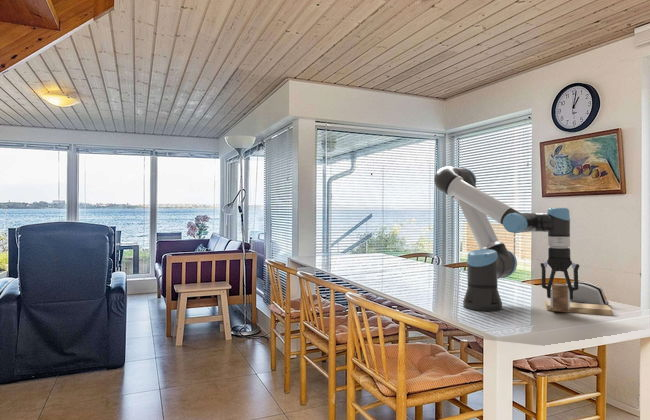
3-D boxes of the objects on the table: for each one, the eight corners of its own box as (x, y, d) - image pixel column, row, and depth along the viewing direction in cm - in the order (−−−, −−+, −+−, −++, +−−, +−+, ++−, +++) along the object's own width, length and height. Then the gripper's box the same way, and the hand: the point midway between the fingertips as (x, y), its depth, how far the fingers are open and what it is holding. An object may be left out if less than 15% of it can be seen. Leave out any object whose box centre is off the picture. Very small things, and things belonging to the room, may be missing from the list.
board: (547, 310, 170) (547, 305, 170) (545, 305, 179) (545, 300, 179) (612, 315, 162) (612, 310, 162) (607, 310, 170) (607, 305, 170)
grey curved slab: (610, 304, 180) (605, 283, 178) (603, 309, 178) (598, 287, 176) (571, 297, 195) (566, 277, 193) (565, 302, 193) (560, 281, 191)
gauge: (553, 310, 166) (552, 285, 166) (549, 303, 179) (549, 279, 179) (567, 312, 164) (567, 285, 164) (563, 304, 177) (562, 280, 177)
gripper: (533, 247, 167) (534, 307, 166) (587, 248, 160) (588, 311, 159) (532, 246, 174) (533, 303, 173) (584, 247, 166) (585, 307, 166)
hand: (559, 307), depth 166 cm, fingers closed on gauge, 5 cm apart
